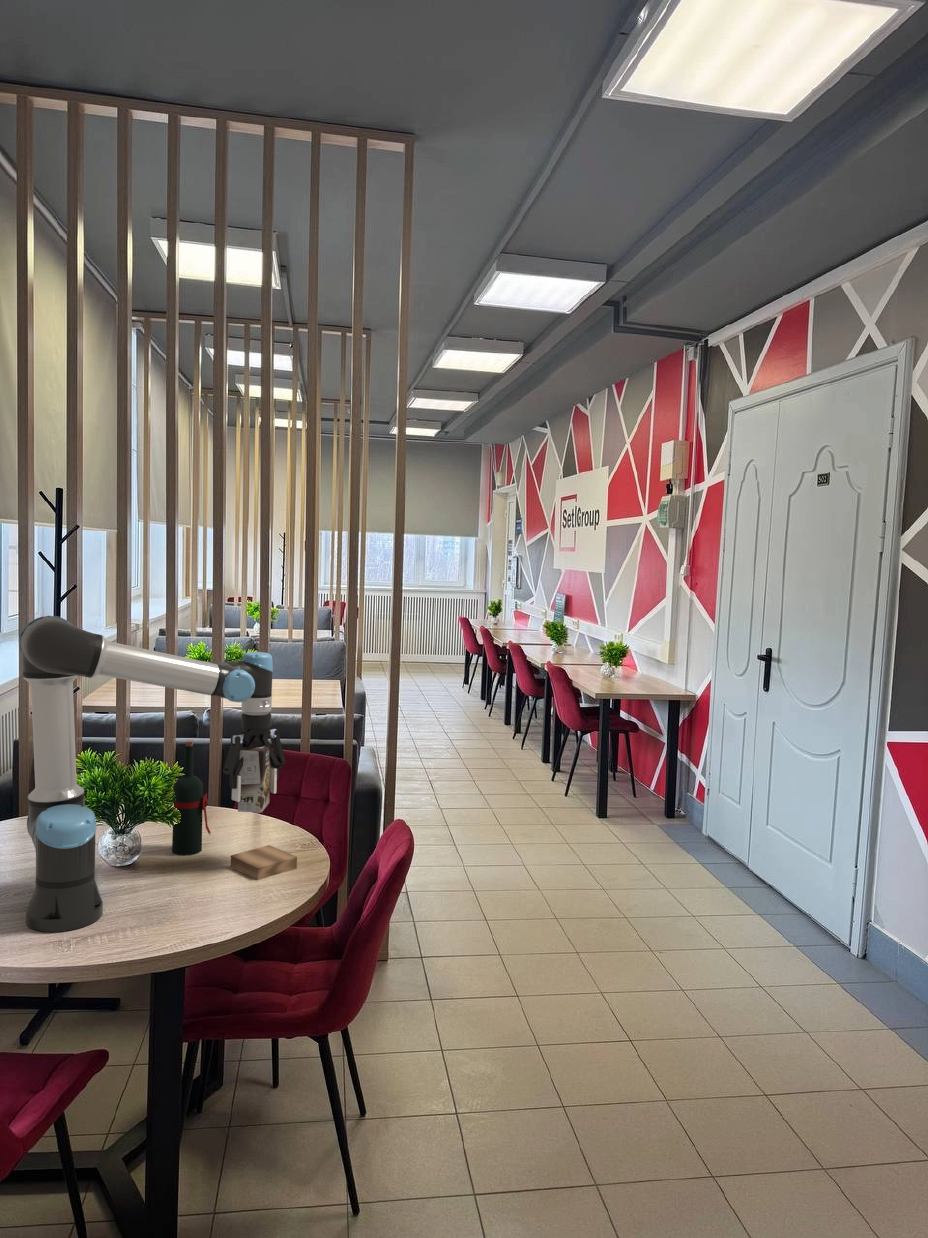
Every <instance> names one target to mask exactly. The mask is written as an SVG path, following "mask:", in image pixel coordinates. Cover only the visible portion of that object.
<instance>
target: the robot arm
mask: <svg viewBox="0 0 928 1238" xmlns="http://www.w3.org/2000/svg"><path fill="white" fill-rule="evenodd" d="M18 647H19V649H20V652H21V664H22V665H21V666H22V667H21V668H22V679H23V680H25V681H26V682H27V683H28V684H30V695H31V696H30V697H31V716H32V720H31V721H32V742H33V743H32V745H33V767H34V769H33V770H34V789H33V790H32V791H31V792H30V793H29V794H28V795H27V799H28V800H27V801H28V802H27V803H28V815H27V819H26V829H27V833H28V835H29V837H30V839H31V840H32V844H33V846H34V850H35V887H34V889H33V892H32V894H31V897H30V900H29V903H28V906H27V909H26V911H25V924H26V923H27V924H26V926H27V925H28V926H29V927H28V926H27V927H28V928H30V929H32V930H35V931H39V932H49V933H55V932H56V933H57V932H67V931H73V930H77V929H81V928H84V927H87V926H88V925H92V924H93V923H95V922H96V921H98V920H99V919H101V917H102V915H104V914H103V913H104V912H103V911H104V904H103V900H102V896H101V893H100V891H99V888H98V886H97V883H96V880H95V879H96V878H95V877H96V876H95V874H96V873H95V872H96V869H95V868H96V865H95V864H96V833H97V827H98V826H97V822H96V815H95V812H94V811H93V810H92V809H90V808H89V807H87V806H86V804H85V800H86V799H85V789H84V788H83V787H82V786H81V785H79V784H78V782H77V761H76V760H77V759H76V756H77V755H76V754H77V753H76V735H75V734H76V732H75V710H74V708H75V705H74V681H76V679H77V678H78V677H83V678H84V677H85V678H88V679H89V678H90V679H93V678H95V677H96V676H99V675H100V676H103V677H104V676H105V677H110V678H114V679H120V680H125V681H132V682H135V683H140V684H141V683H142V684H147V685H152V686H156V687H157V686H158V687H163V688H164V687H165V688H169V689H174V690H180V691H185V692H189V693H190V692H191V693H195V694H201V695H206V696H210V697H216V698H220V699H225V700H226V699H227V700H228V701H229V702H233V703H241V707H240V709H241V711H242V714H241V715H240V716H241V717H240V718H241V720H240V721H241V723H240V726H241V728H242V730H241V733H240V734H238V735H236V734H232V735H231V736H230V746H229V749H228V752H227V755H226V760H225V763H224V766H223V770H222V773H223V774H224V775H228V776H229V788H230V789H231V800H232V801H235V802H237V803H238V802H240V800H241V776H239V773H240V771H241V769H242V767H243V757H242V758H241V759H240V750H241V749H245V750H250V749H253V748H256V747H262V746H264V745H265V746H266V747H268V748H269V756H270V794H277V788H278V787H277V780H279V777H280V775H279V774H280V769H282V768H283V766H284V765H285V764H286V758H285V755H284V750H283V746H282V742H281V737H280V736H281V731H280V730H279V729H276V728H271V726H272V713H271V711H272V707H273V705H272V702H273V701H272V700H273V698H272V697H273V694H272V693H273V672H274V668H273V667H274V664H273V663H274V662H273V657H272V654H270V653H268V652H263V651H250V652H244V653H243V655H242V658H241V660H237V661H235V660H233V661H204V660H200V659H199V660H198V659H194V658H189V657H184V656H179V655H176V654H175V655H174V654H170V653H165V652H160V651H157V650H152V649H148V648H142V647H137V646H133V645H128V644H123V643H118V642H114V641H109V640H107V639H106V638H105V635H103V634H98V633H94V632H91V631H87V630H84V629H82V628H79V627H77V626H75V625H74V624H73V623H71V622H70V621H68V620H67V619H65V618H63V617H62V616H57V615H54V616H53V615H45V616H43V615H42V616H40V617H37V618H34V619H32V620H30V621H29V622H28V623H27V624H26V625H25V626H24V627H23V629H22V630H21V633H20V634H19V637H18ZM270 728H271V729H270ZM269 739H270V742H271V743H270V742H269ZM270 744H271V745H270ZM246 747H248V748H246Z"/></svg>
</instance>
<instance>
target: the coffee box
mask: <svg viewBox="0 0 928 1238" xmlns="http://www.w3.org/2000/svg"><path fill="white" fill-rule="evenodd" d="M270 745H271V746H272V743H270ZM246 748H248V747H246ZM239 751H240V759H241V758H242V757H243V767H242V769H241V771H240V773H239V776H241V800H240V802H237V812H238V813H239V812H240V813H242V812H243V813H256V814H257V813H259V814H260V813H263V811H264V810H265V809H266V808H267V807H268V805H269V804H270V797H271V796H270V794H271V792H270V767H271V765H270V756H269V748H268V747H266V746H265V745H264V746H262V747H256V748H253V749H250V750H245V749H241V750H240V749H239Z"/></svg>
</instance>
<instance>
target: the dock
mask: <svg viewBox="0 0 928 1238" xmlns="http://www.w3.org/2000/svg"><path fill="white" fill-rule="evenodd" d="M230 868H232V869H234V870H236V871H239V872H241V873H243V874H245V875H247V876H249V877H250V878H252V879H255V880H257V881H258V880H262V879H266V878H269V877H272V876H275V875H279V874H281V873H285V872H288V871H293V870H294V869H297V868H298V856H296V855H293V854H291V853H289V852H287V851H284V850H281V849H279V848H278V847H275V846H272V845H269V844H268V845H264V846H260V847H257V848H254V849H250V850H245V851H243V852H238V853H236V854H231V855H230Z"/></svg>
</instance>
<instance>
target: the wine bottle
mask: <svg viewBox="0 0 928 1238" xmlns="http://www.w3.org/2000/svg"><path fill="white" fill-rule="evenodd" d="M184 747H185V748H184V775H182V776H181V777H179V778H177V780H176V781H175V782H176V783H174V784H173V793H174V792H175V795H176V802H175V803H174V802H173V803H174V807H175V808H177V809H178V810H179V811H180V813H181V819H180V821H181V822H180V823H178V824H175V825H173V824H172V837H171V838H172V841H171V844H172V845H171V854H173V855H175V856H183V857H185V856H194V855H198V854H199V853H201V852H202V851H203V817H204V824H205V829H206V831H207V834H208V835H209V836H211V835H212V833H211V830H210V828H209V826H208V817H207V806H208V804H209V799H208V793H204V784H203V782H202V780H201V779H200V778H199V777H198V776H196V775H194V753H195V752H194V751H195V749H194V748H195V747H194V740H186V741H185V746H184ZM203 813H204V815H203Z"/></svg>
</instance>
